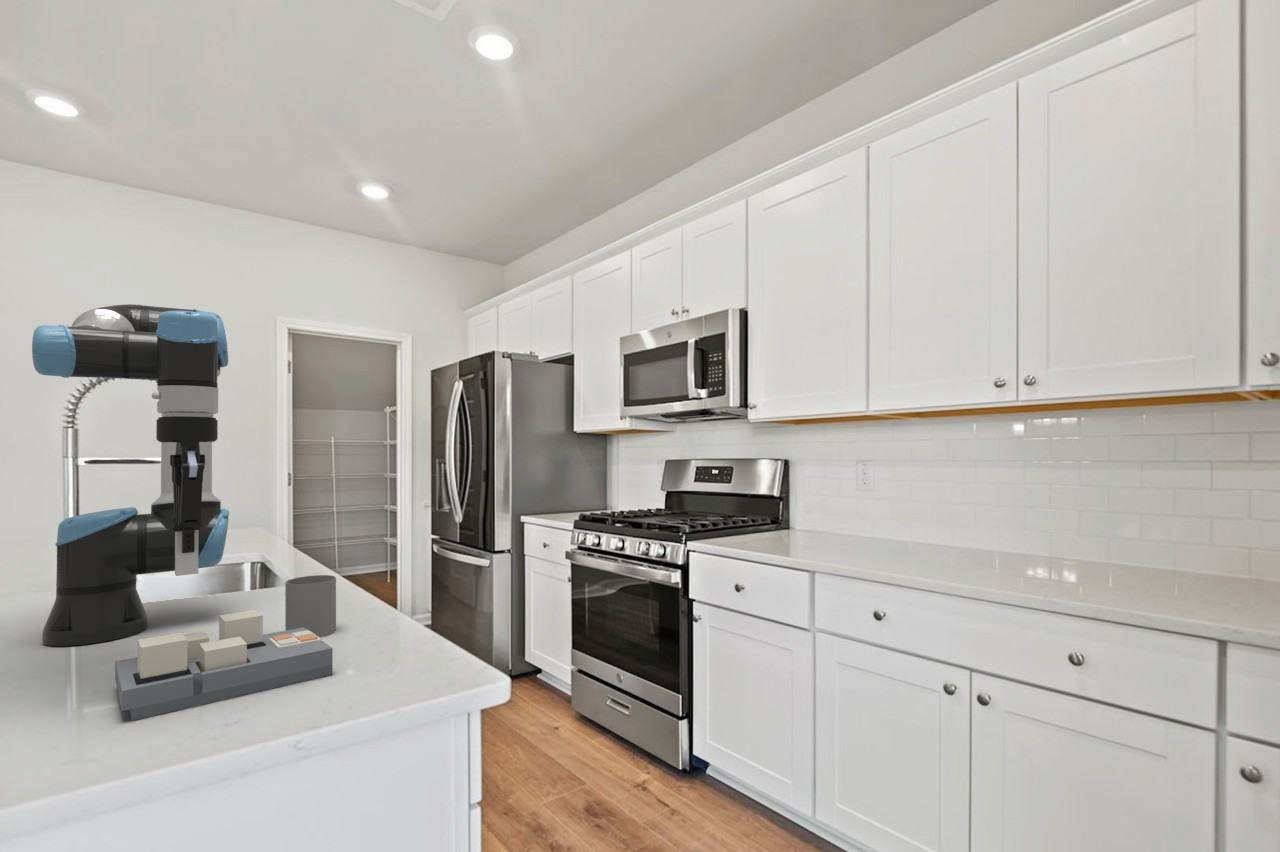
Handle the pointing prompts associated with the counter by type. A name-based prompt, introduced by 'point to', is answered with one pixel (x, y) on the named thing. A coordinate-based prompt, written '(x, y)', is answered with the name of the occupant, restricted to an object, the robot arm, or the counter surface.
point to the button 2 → (195, 643)
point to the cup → (311, 604)
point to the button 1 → (162, 655)
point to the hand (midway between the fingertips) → (186, 573)
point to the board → (225, 675)
